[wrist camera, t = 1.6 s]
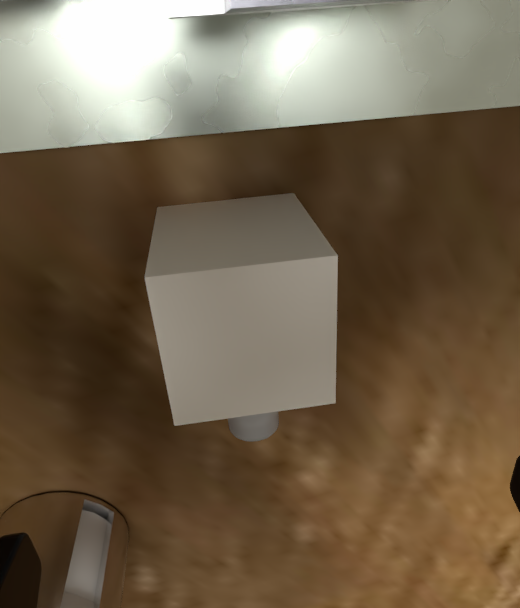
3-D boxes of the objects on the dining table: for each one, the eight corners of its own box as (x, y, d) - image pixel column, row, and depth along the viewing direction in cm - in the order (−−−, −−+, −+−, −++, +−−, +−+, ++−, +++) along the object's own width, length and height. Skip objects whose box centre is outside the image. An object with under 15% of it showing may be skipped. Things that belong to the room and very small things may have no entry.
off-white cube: (293, 192, 18) (337, 255, 13) (298, 349, 21) (335, 449, 16) (157, 206, 17) (144, 277, 12) (184, 363, 21) (184, 472, 16)
